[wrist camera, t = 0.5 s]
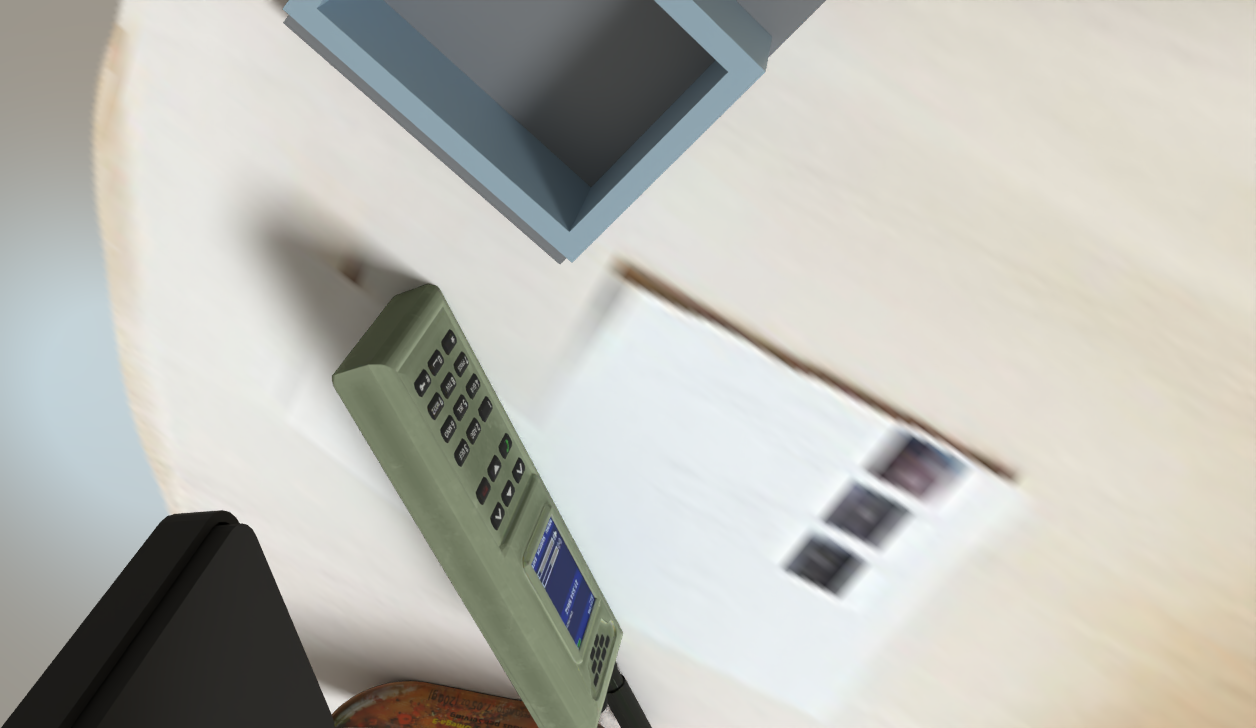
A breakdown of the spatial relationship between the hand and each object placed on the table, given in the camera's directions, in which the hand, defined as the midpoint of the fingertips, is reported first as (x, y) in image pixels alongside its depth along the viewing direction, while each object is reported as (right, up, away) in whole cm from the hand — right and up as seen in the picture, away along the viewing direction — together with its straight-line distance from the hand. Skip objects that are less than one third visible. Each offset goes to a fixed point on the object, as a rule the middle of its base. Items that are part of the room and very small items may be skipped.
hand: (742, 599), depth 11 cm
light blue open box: (-4, +15, +30) cm, 34 cm away
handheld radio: (-5, -5, +43) cm, 43 cm away
